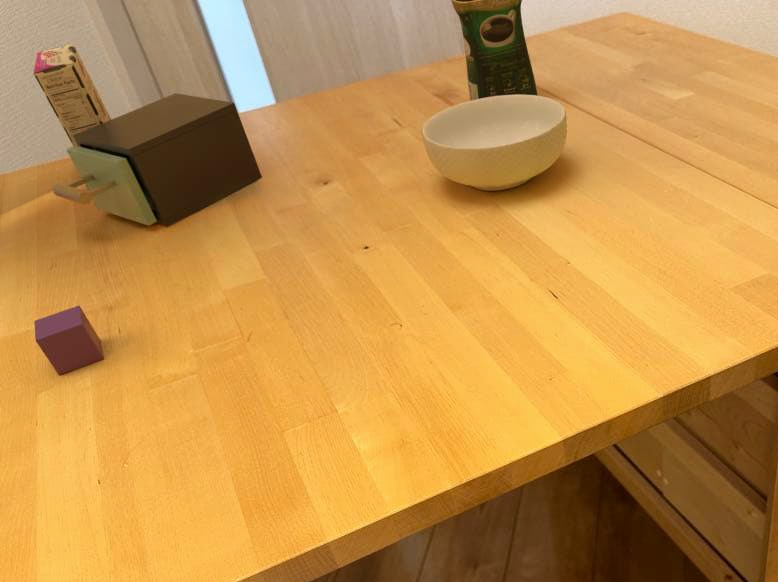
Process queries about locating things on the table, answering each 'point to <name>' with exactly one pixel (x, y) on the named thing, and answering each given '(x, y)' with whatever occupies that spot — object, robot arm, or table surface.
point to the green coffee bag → (495, 48)
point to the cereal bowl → (496, 140)
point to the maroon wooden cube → (68, 340)
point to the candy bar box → (69, 90)
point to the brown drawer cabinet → (180, 152)
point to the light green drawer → (108, 184)
